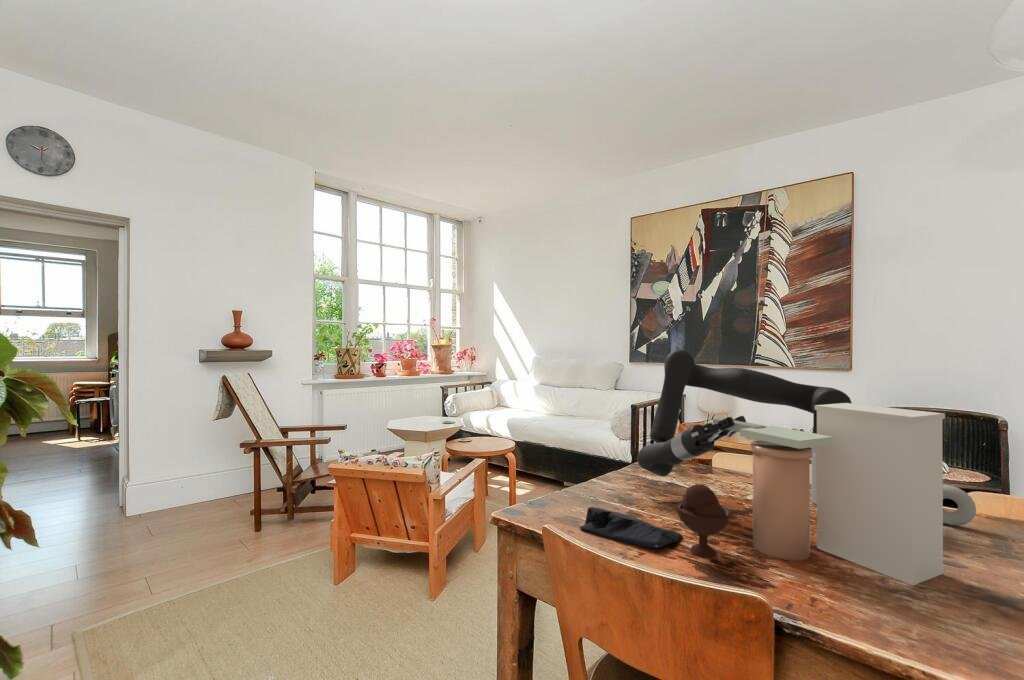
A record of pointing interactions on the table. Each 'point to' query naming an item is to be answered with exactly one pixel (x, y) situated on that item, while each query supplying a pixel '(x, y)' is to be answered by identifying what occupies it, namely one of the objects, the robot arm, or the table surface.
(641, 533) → the black flat lumpy piece
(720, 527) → the ice cream bowl
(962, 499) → the donut
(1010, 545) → the table surface
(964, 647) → the table surface
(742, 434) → the cover
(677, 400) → the robot arm
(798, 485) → the terracotta pot
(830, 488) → the upright grey panel box
